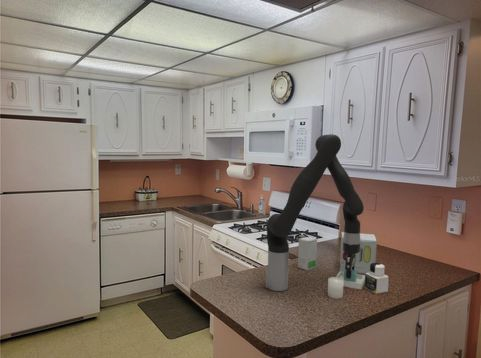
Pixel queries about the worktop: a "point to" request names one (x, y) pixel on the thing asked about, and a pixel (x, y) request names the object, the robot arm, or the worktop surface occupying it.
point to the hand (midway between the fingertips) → (350, 275)
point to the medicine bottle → (376, 279)
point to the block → (353, 276)
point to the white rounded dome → (335, 287)
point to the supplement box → (361, 253)
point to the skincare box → (307, 253)
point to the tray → (357, 285)
